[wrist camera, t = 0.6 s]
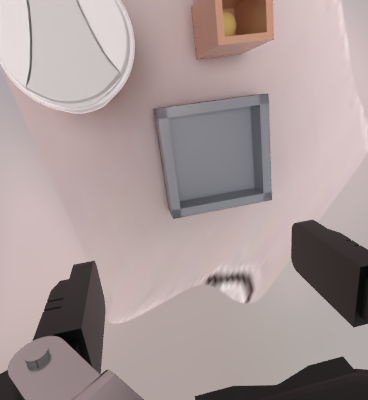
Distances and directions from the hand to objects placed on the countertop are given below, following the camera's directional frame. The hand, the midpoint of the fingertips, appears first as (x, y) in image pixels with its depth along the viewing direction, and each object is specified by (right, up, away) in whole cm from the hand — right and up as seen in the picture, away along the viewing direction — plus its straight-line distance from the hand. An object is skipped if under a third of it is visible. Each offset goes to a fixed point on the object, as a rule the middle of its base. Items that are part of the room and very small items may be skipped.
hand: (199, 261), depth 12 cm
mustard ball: (+3, +21, +20) cm, 29 cm away
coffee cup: (-10, +16, +19) cm, 27 cm away
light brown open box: (+3, +21, +20) cm, 29 cm away
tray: (+3, +8, +24) cm, 26 cm away
